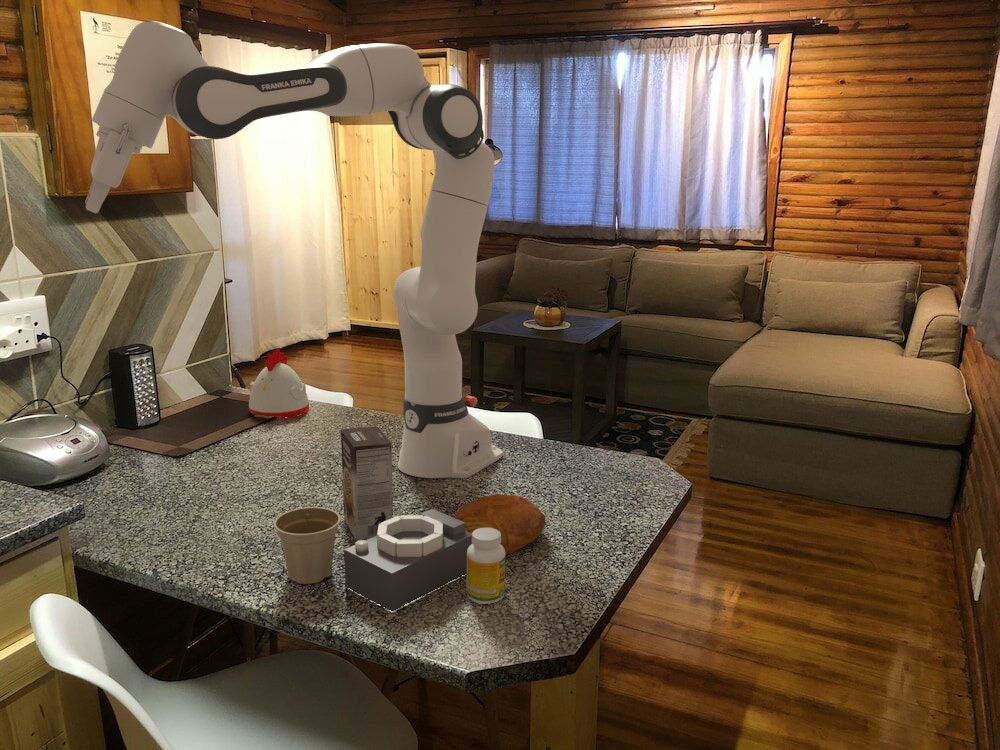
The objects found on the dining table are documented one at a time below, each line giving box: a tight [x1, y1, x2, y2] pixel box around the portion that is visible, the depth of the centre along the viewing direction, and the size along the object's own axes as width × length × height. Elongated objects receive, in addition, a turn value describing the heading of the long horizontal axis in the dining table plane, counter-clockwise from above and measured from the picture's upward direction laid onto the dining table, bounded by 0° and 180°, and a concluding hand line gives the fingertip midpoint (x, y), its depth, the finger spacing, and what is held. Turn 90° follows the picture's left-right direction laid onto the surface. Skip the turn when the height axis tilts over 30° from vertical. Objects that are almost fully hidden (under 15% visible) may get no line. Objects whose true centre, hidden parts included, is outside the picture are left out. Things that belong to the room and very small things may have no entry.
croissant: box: [453, 493, 546, 556], centre depth 131 cm, size 14×16×8 cm
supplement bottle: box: [466, 528, 506, 605], centre depth 113 cm, size 5×5×10 cm
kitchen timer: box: [248, 348, 310, 418], centre depth 193 cm, size 14×14×15 cm
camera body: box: [343, 508, 472, 611], centre depth 117 cm, size 16×10×8 cm, turn 139°
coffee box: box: [340, 425, 393, 542], centre depth 133 cm, size 9×6×16 cm
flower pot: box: [273, 506, 342, 585], centre depth 118 cm, size 9×9×9 cm
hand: (90, 208), depth 123 cm, fingers open, 8 cm apart
